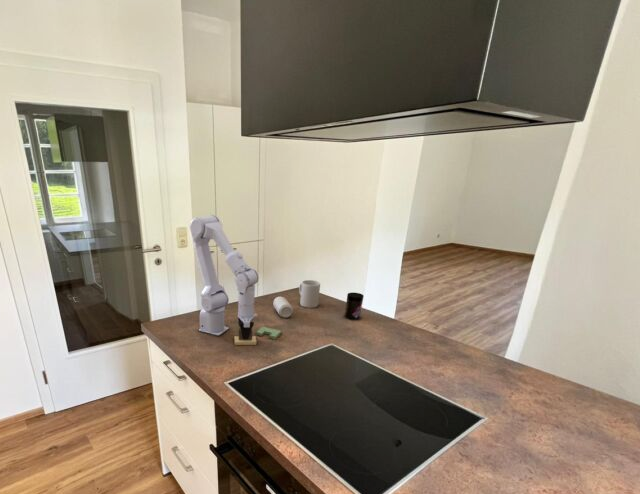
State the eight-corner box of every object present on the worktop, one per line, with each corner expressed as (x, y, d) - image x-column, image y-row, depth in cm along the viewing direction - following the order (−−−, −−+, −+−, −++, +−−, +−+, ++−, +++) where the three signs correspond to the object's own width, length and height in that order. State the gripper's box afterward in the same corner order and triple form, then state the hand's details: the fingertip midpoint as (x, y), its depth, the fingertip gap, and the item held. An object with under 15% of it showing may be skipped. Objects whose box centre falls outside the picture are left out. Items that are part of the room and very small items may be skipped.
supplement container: (349, 320, 155) (352, 298, 151) (341, 314, 161) (344, 293, 157) (363, 319, 157) (366, 297, 152) (354, 313, 162) (358, 292, 158)
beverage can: (277, 317, 155) (270, 306, 166) (290, 320, 156) (283, 309, 167) (281, 303, 153) (275, 294, 163) (295, 306, 154) (287, 297, 165)
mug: (321, 306, 171) (324, 283, 166) (307, 309, 167) (310, 286, 162) (305, 298, 180) (307, 277, 176) (291, 301, 176) (293, 279, 172)
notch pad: (256, 334, 140) (256, 332, 140) (262, 329, 145) (262, 326, 145) (275, 339, 137) (275, 336, 137) (281, 333, 142) (281, 330, 141)
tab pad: (234, 344, 132) (234, 332, 130) (234, 335, 139) (234, 323, 137) (256, 344, 133) (256, 332, 131) (254, 335, 140) (255, 323, 137)
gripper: (258, 310, 122) (257, 346, 127) (255, 296, 135) (254, 328, 141) (238, 310, 122) (237, 346, 127) (237, 296, 135) (236, 328, 140)
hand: (245, 337), depth 134 cm, fingers closed
